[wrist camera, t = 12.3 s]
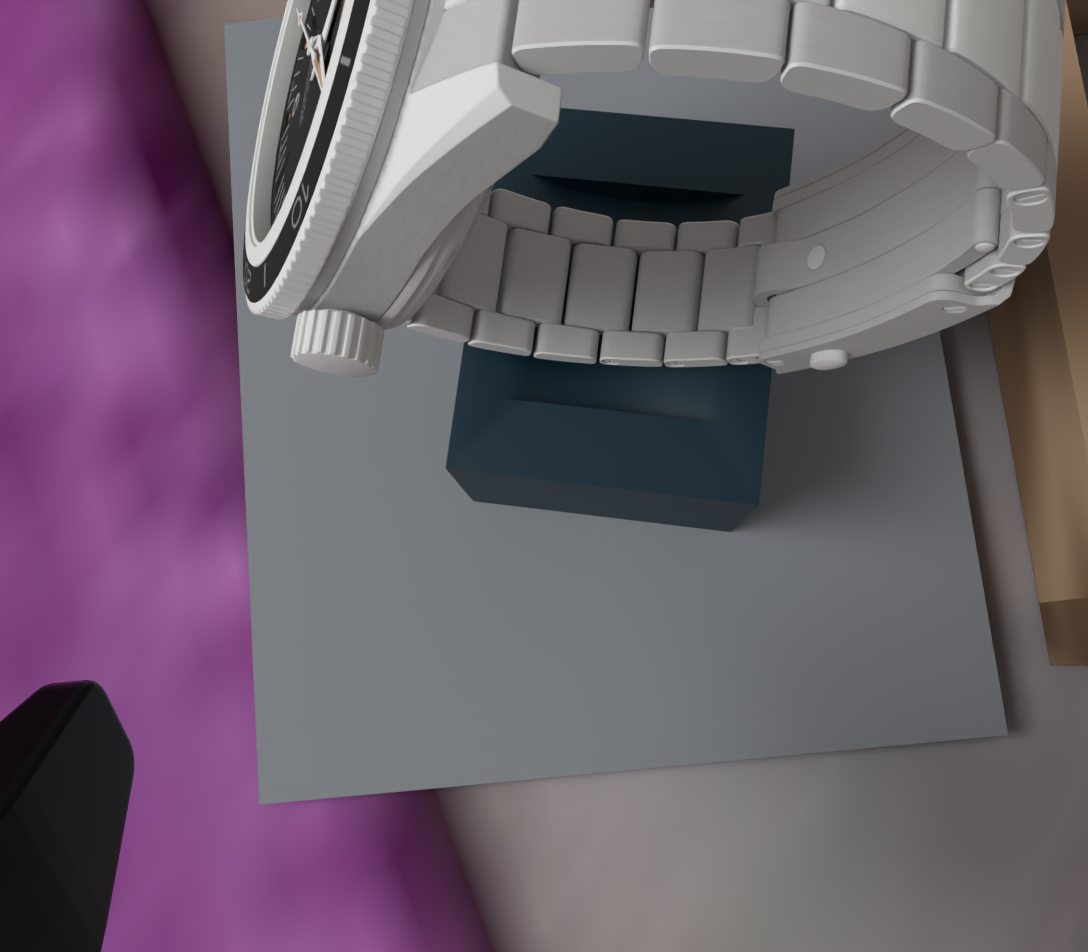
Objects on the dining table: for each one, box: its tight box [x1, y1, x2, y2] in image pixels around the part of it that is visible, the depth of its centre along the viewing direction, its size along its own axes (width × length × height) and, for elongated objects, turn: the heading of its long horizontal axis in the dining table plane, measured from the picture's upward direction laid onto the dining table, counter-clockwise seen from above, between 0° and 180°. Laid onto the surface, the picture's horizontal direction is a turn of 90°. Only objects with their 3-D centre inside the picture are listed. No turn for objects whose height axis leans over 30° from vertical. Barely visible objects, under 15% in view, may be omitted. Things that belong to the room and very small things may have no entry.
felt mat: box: [224, 8, 1008, 805], centre depth 18 cm, size 14×12×1 cm
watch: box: [243, 0, 1066, 532], centre depth 12 cm, size 6×8×11 cm
